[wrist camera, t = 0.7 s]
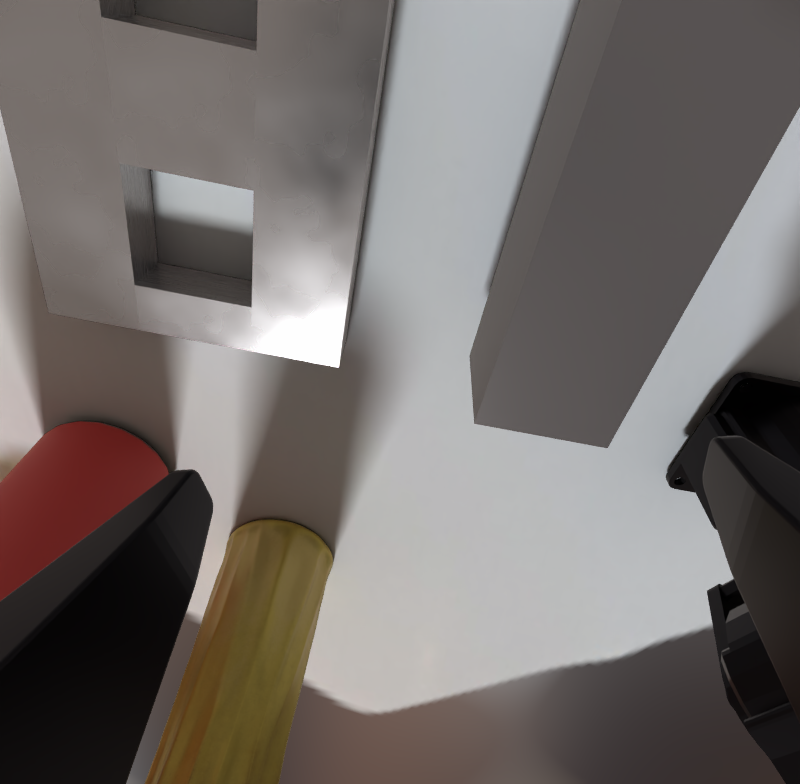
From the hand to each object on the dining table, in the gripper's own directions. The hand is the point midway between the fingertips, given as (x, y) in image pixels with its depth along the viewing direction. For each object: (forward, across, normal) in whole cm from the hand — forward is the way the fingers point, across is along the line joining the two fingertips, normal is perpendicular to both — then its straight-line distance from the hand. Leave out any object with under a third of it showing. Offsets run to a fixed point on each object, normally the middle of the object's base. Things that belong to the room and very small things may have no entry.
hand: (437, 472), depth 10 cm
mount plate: (+12, +7, -5) cm, 15 cm away
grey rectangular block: (+12, -5, -1) cm, 13 cm away
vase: (+13, +12, +17) cm, 24 cm away
